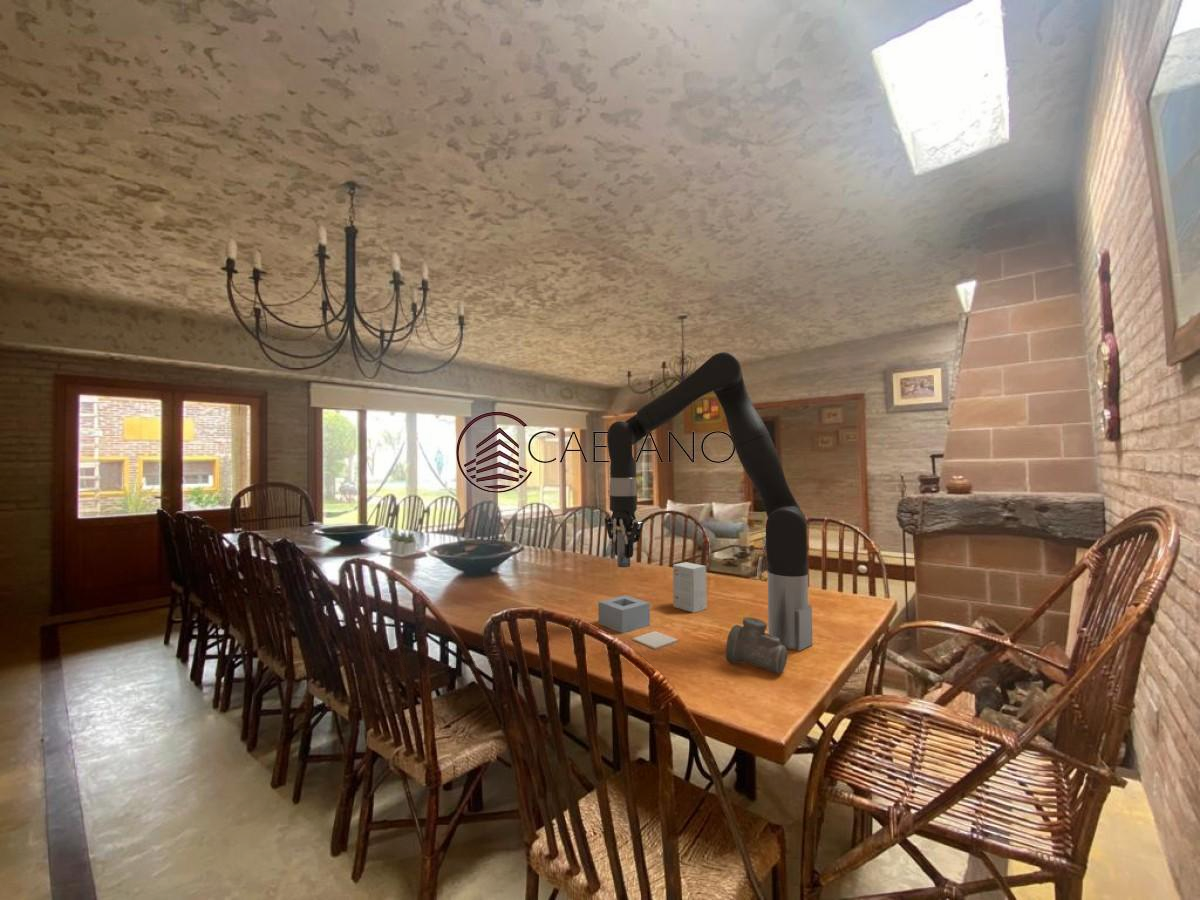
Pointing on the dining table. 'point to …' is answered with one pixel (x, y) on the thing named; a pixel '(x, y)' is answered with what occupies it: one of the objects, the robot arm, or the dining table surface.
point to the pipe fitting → (755, 646)
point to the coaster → (655, 640)
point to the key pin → (621, 549)
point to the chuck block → (624, 613)
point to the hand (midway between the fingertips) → (623, 556)
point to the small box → (689, 587)
